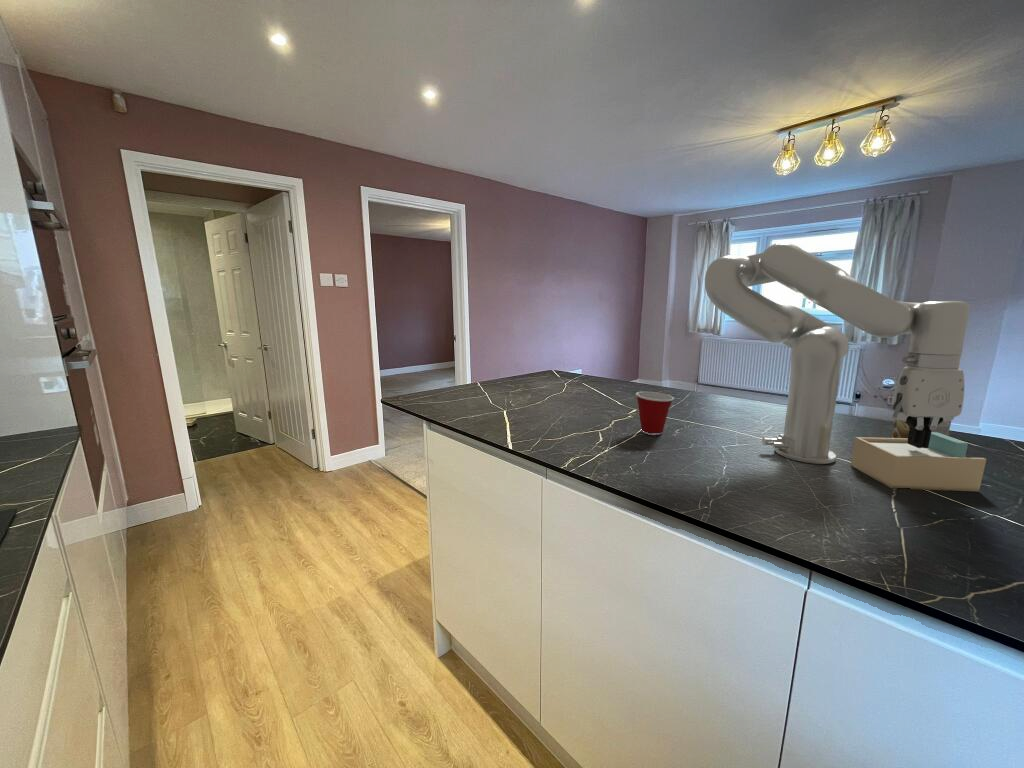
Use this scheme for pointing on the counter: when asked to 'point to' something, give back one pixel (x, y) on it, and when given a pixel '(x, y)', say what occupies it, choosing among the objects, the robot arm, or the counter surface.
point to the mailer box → (916, 468)
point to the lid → (937, 447)
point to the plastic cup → (653, 410)
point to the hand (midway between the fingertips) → (917, 445)
